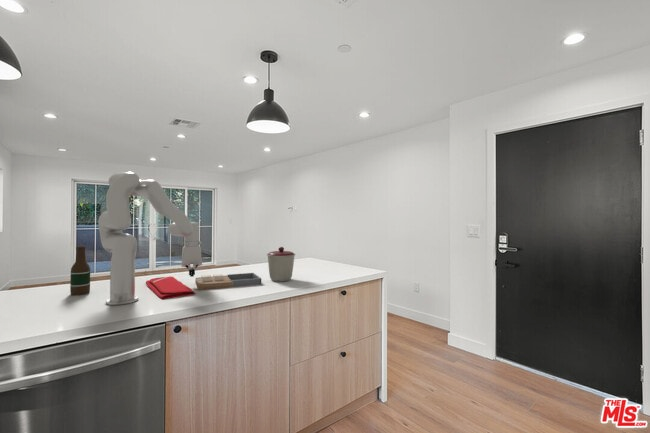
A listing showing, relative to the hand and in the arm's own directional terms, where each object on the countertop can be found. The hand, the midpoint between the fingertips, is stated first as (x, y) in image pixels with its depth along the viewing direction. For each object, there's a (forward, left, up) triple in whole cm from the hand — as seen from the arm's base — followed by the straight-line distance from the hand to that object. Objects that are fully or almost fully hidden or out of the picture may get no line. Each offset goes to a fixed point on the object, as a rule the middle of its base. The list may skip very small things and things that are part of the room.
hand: (191, 276), depth 171 cm
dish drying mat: (-1, +12, -7) cm, 14 cm away
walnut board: (0, -12, -6) cm, 13 cm away
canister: (-3, -52, -6) cm, 52 cm away
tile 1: (0, -8, -3) cm, 8 cm away
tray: (0, -29, -6) cm, 29 cm away
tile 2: (0, -14, -3) cm, 14 cm away
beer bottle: (+6, +51, -6) cm, 52 cm away
